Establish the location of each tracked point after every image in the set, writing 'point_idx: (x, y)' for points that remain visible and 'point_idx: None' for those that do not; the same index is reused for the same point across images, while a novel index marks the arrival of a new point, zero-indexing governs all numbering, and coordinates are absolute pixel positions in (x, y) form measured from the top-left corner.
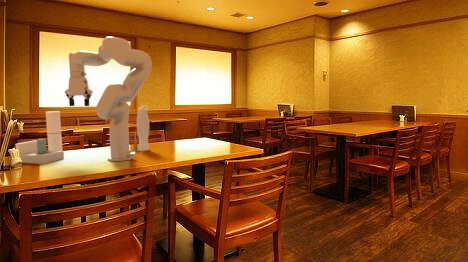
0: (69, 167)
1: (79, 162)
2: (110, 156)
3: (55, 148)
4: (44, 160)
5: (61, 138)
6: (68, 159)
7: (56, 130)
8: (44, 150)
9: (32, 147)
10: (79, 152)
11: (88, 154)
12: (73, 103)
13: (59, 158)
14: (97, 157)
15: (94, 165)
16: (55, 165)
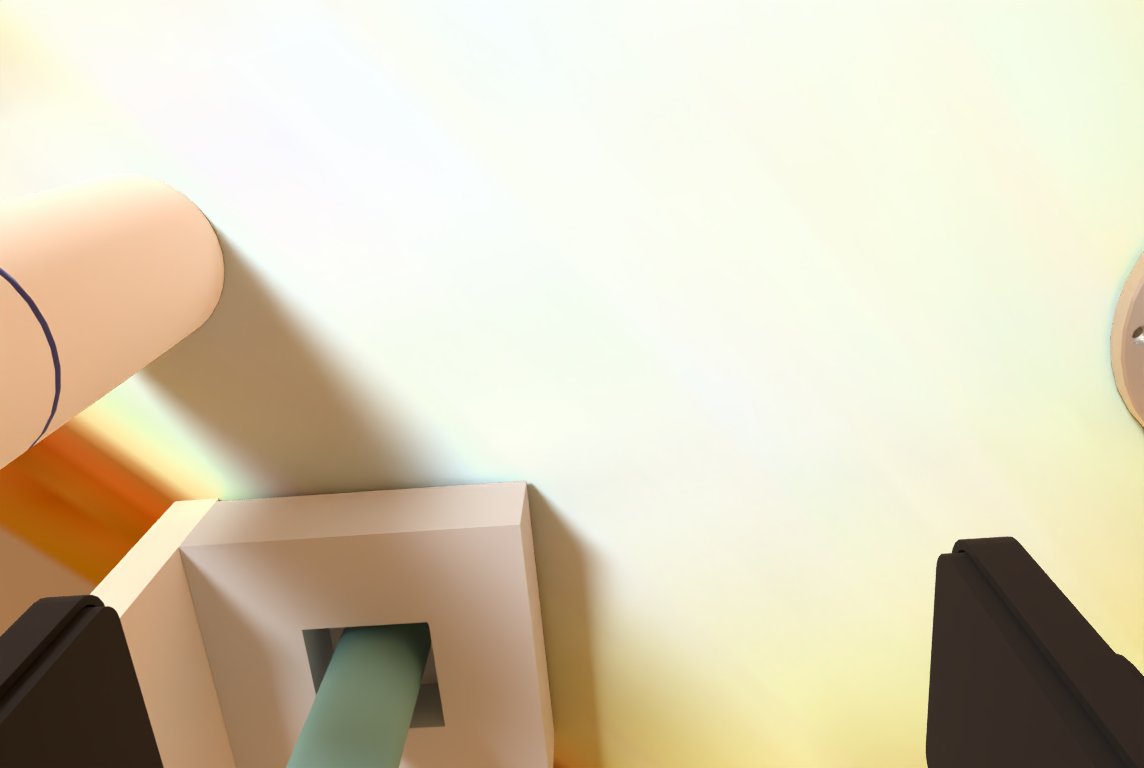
0: (914, 764)
1: (856, 580)
2: (1129, 332)
3: (169, 347)
4: (552, 745)
5: (85, 263)
6: (604, 487)
7: (21, 428)
8: (414, 707)
9: (185, 706)
10: (338, 36)
11: (606, 144)
12: (68, 726)
13: (532, 551)
14: (884, 297)
15: (1116, 652)
16: (711, 735)
